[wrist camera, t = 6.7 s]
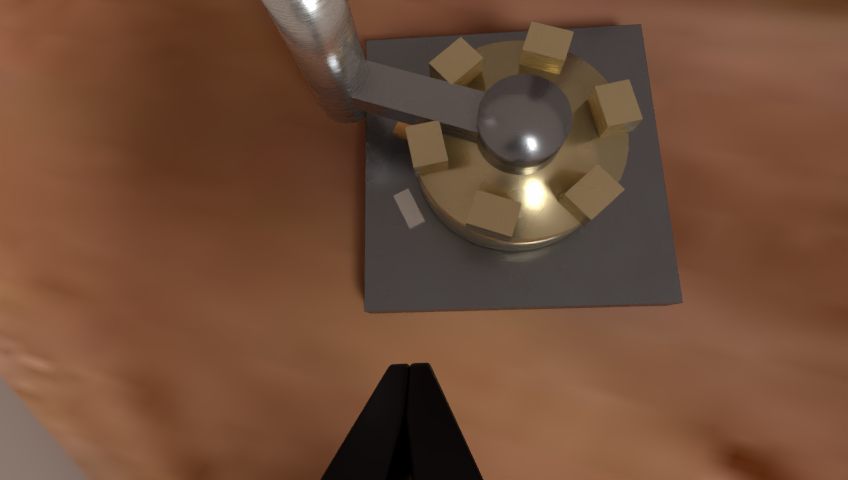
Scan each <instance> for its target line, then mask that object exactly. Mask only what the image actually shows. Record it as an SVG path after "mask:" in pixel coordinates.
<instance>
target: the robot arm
mask: <svg viewBox="0 0 848 480" xmlns="http://www.w3.org/2000/svg"><path fill="white" fill-rule="evenodd" d="M321 480H483V478H482V476H481V473H480V471H479V469H478V467H477V465H476V463H475V460H474V458H473V456H472V454H471V452H470V450H469V447H468V445H467V443H466V441H465V439H464V437H463V434H462V432H461V430H460V428H459V426H458V424H457V421H456V419H455V417H454V415H453V413H452V411H451V408H450V406H449V404H448V402H447V400H446V398H445V395H444V393H443V391H442V389H441V387H440V385H439V382H438V380H437V378H436V376H435V374H434V372H433V369H432V367H431V365H430V364H429V363H413V364H411V365H410V366H409V365H408V364H393V365H390V366H389V367H388V369H387V370H386V372H385V374H384V375H383V377H382V379H381V380H380V382H379V384H378V385H377V387H376V389H375V390H374V392H373V394H372V395H371V397H370V399H369V400H368V402H367V404H366V405H365V407H364V409H363V410H362V412H361V414H360V415H359V417H358V418H357V420H356V422H355V423H354V425H353V427H352V428H351V430H350V432H349V433H348V435H347V437H346V438H345V440H344V442H343V443H342V445H341V447H340V448H339V450H338V452H337V453H336V455H335V457H334V458H333V460H332V462H331V463H330V465H329V466H328V468H327V470H326V471H325V473H324V475H323V476H322V478H321Z"/></svg>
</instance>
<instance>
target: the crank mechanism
mask: <svg viewBox="0 0 848 480" xmlns="http://www.w3.org/2000/svg"><path fill="white" fill-rule="evenodd" d="M262 2H263V4H264V6H265V8H266V9H267V11H268V13H269V15H270V17H271V18H272V20H273V22H274V24H275V26H276V27H277V29H278V31H279V33H280V35H281V36H282V38H283V40H284V42H285V44H286V45H287V47H288V49H289V51H290V52H291V54H292V56H293V58H294V60H295V61H296V63H297V65H298V67H299V69H300V70H301V72H302V74H303V76H304V78H305V79H306V81H307V83H308V85H309V87H310V88H311V90H312V92H313V94H314V96H315V97H316V99H317V101H318V103H319V104H320V106H321V108H322V110H323V112H324V113H325V114H326V116H327V117H329V118H330V119H331V120H333V121H335V122H338V123H344V124H348V123H354V122H357V121H359V120H361V119H363V118H364V117H366V116H367V115H368V114H369V113H371V114H374V115H378V116H381V117H385V118H388V119H392V120H395V121H399V122H402V123H406V124H410V125H412V126H408V127H405V129H406V134H407V139H408V144H409V148H410V153H411V158H412V163H413V167H414V172H415V177H418V179H419V183H420V186H421V189H422V192H423V194H424V196H425V199H426V201H427V202H428V204H429V205H430V207H431V209H432V210H433V212H434V213H435V214H436V215H437V216H438V218H439V219H440V220H441V221H442V222H443V223H444V224H445V225H446V226H447V227H448V228H450V229H451V230H452V231H454V232H455V233H457V234H458V235H459V236H461V237H463V238H465V239H467V240H468V241H470V242H473V243H475V244H478V245H481V246H483V247H487V248H491V249H496V250H504V251H525V250H531V249H537V248H540V247H544V246H548V245H550V244H552V243H555V242H557V241H559V240H561V239H563V238H564V237H566V236H568V235H569V234H571V233H572V232H573V231H575V230H576V229H577V228H578V227H580V226H581V225H582V226H583V227H584V226H585V225H586V224H588V223H589V222H590V221H591V220H592V219H593V218H594V217H595V216H597V215H598V214H599V213H600V212H601V211H602V210H603V209H604V208H605V207H606V206H607V205H609V204H610V203H611V202H612V201H613V200H614V199H615V198H616V197H617V196H618V195H619V194H621V193H622V192H623V191H624V190H625V189H624V188H623V187H622V186H621V185H620V184H619V181H620V179H621V177H622V174H623V171H624V169H625V166H626V161H627V156H628V147H629V135H628V132H630V131H633V130H634V129H635V128H636V127H637V126H638V124H639V123H640V122H641V121H642V120H643V117H642V115H641V112H640V109H639V106H638V103H637V100H636V97H635V94H634V92H633V89H632V86H631V83H630V80H629V79H627V80H623V81H618V82H613V83H609V84H608V82H607V81H606V80H605V78H604V77H603V76H602V75H601V74H600V73H599V72H598V71H597V70H596V69H595V68H593V67H592V66H591V65H589V64H588V63H587V62H585V61H584V60H583V59H581V58H579V57H577V56H576V55H574V54H572V53H570V52H568V49H569V46H570V43H571V40H572V36H573V33H574V32H573V31H569V30H565V29H561V28H557V27H553V26H549V25H545V24H540V23H536V22H531V25H530V28H529V31H528V34H527V37H526V40H525V41H504V42H498V43H492V44H489V45H485V46H481V47H479V48H476V49H473V48H472V47H471V46H470V45H469V44H468V43H467V42H466V41H465V40H464V39H463V38H462V37H460V38H459V39H457V40H456V41H455V42H454V43H452V44H451V45H450V46H449V47H448V48H446V49H445V50H444V51H443V52H441V53H440V54H439V55H438V56H437V57H435V58H434V59H433V60H432V61H431V62H429V71H430V77H427V76H423V75H420V74H416V73H412V72H408V71H405V70H401V69H397V68H393V67H390V66H386V65H382V64H378V63H374V62H371V61H367V60H365V57H364V53H363V50H362V47H361V43H360V40H359V37H358V34H357V30H356V27H355V24H354V21H353V17H352V14H351V11H350V7H349V4H348V1H347V0H262Z"/></svg>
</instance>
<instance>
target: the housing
mask: <svg viewBox="0 0 848 480" xmlns="http://www.w3.org/2000/svg"><path fill="white" fill-rule="evenodd" d="M565 30H569V31H573V32H574V33H573V36H572V40H571V43H570V46H569V49H568V52H570V53H572V54H574V55H576V56H577V57H579V58H581V59H583V60H584V61H585V62H587V63H588V64H589V65H591V66H592V67H593V68H595V69H596V70H597V71H598V72H599V73H600V74H601V75H602V76H603V77H604V78H605V80H606V81H607V82H608V84H609V83H613V82H618V81H623V80H627V79H629V80H630V83H631V86H632V89H633V92H634V94H635V97H636V100H637V103H638V106H639V109H640V112H641V115H642V117H643V120H642V121H641V122H640V123H639V124H638V126H637V127H636V128H635V129H634V130H633V131H630V132H628V135H629V147H628V156H627V161H626V166H625V169H624V171H623V174H622V177H621V179H620V181H619V184H620V185H621V186H622V187H623V188H624V189H625V190H624V191H623V192H622V193H621V194H619V195H618V196H617V197H616V198H615V199H614V200H613V201H612V202H611V203H610V204H609V205H607V206H606V207H605V208H604V209H603V210H602V211H601V212H600V213H599V214H598V215H597V216H595V217H594V218H593V219H592V220H591V221H590V222H589V223H588V224H586V225H585V226H584V227H583V226H582V225H581V226H580V227H578V228H577V229H576V230H575V231H573V232H572V233H571V234H569V235H568V236H566V237H564V238H563V239H561V240H559V241H557V242H555V243H552V244H550V245H548V246H544V247H540V248H537V249H531V250H525V251H504V250H496V249H491V248H487V247H483V246H481V245H478V244H475V243H473V242H470V241H468V240H467V239H465V238H463V237H461V236H459V235H458V234H457V233H455V232H454V231H452V230H451V229H450V228H448V227H447V226H446V225H445V224H444V223H443V222H442V221H441V220H440V219H439V218H438V216H437V215H436V214H435V213H434V212H433V210H432V209H431V207H430V205H429V204H428V202H427V201H426V199H425V196H424V194H423V192H422V189H421V186H420V183H419V179H418V177H415V172H414V167H413V163H412V158H411V153H410V148H409V144H408V139H407V134H406V129H405V127H408V126H412V125H410V124H406V123H402V122H399V121H395V120H392V119H388V118H385V117H381V116H378V115H374V114H371V113H369V114H368V115H367V116H366V172H365V308H364V311H365V312H368V313H402V312H440V311H478V310H516V309H554V308H592V307H630V306H667V305H673V304H679V303H683V301H682V294H681V288H680V281H679V274H678V268H677V261H676V255H675V248H674V241H673V235H672V228H671V221H670V215H669V208H668V201H667V195H666V188H665V181H664V175H663V168H662V161H661V155H660V148H659V141H658V135H657V128H656V121H655V115H654V108H653V101H652V95H651V88H650V81H649V75H648V68H647V61H646V55H645V48H644V41H643V35H642V28H641V24H637V25H620V26H603V27H586V28H569V29H565ZM527 34H528V31H519V32H502V33H485V34H468V35H451V36H434V37H418V38H401V39H384V40H367V41H366V60H367V61H371V62H374V63H378V64H382V65H386V66H390V67H393V68H397V69H401V70H405V71H408V72H412V73H416V74H420V75H423V76H427V77H430V71H429V62H431V61H432V60H433V59H434V58H435V57H437V56H438V55H439V54H440V53H441V52H443V51H444V50H445V49H446V48H448V47H449V46H450V45H451V44H452V43H454V42H455V41H456V40H457V39H459V38H460V37H462V38H463V39H464V40H465V41H466V42H467V43H468V44H469V45H470V46H471V47H472V48H473V49H476V48H479V47H481V46H485V45H489V44H492V43H498V42H504V41H525V40H526V37H527Z"/></svg>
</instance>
